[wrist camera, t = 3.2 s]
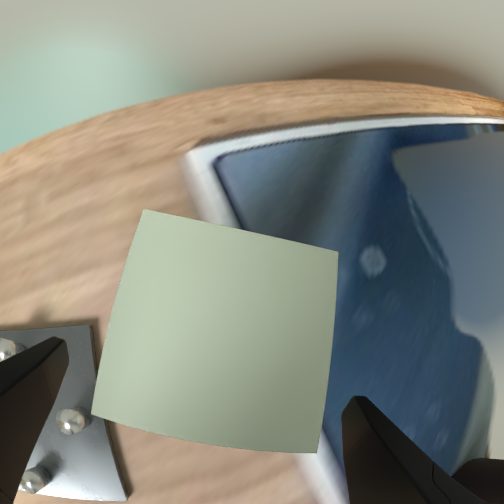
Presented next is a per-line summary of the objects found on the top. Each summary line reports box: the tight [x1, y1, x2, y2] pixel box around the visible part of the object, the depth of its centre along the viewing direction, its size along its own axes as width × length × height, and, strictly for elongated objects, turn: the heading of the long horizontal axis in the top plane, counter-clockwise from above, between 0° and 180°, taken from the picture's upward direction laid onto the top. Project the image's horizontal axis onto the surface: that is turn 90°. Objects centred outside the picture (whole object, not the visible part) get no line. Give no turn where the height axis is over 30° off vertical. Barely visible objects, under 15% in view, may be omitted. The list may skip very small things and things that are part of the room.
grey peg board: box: [0, 324, 129, 501], centre depth 12 cm, size 11×11×3 cm
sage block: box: [91, 209, 338, 453], centre depth 11 cm, size 4×4×12 cm
